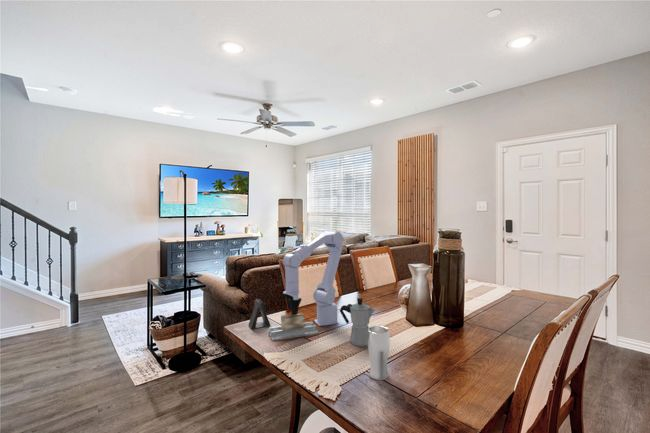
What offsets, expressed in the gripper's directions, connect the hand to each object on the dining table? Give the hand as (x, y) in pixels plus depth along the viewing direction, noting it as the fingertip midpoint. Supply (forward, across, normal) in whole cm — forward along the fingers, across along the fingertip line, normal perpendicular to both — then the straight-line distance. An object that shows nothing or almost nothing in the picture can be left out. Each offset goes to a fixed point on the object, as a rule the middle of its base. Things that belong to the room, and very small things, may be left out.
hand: (292, 311), depth 132 cm
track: (+9, 0, 0) cm, 9 cm away
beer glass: (+10, +43, +19) cm, 48 cm away
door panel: (+8, 0, 0) cm, 8 cm away
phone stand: (+10, -14, -13) cm, 21 cm away
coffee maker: (+10, +18, +23) cm, 31 cm away
